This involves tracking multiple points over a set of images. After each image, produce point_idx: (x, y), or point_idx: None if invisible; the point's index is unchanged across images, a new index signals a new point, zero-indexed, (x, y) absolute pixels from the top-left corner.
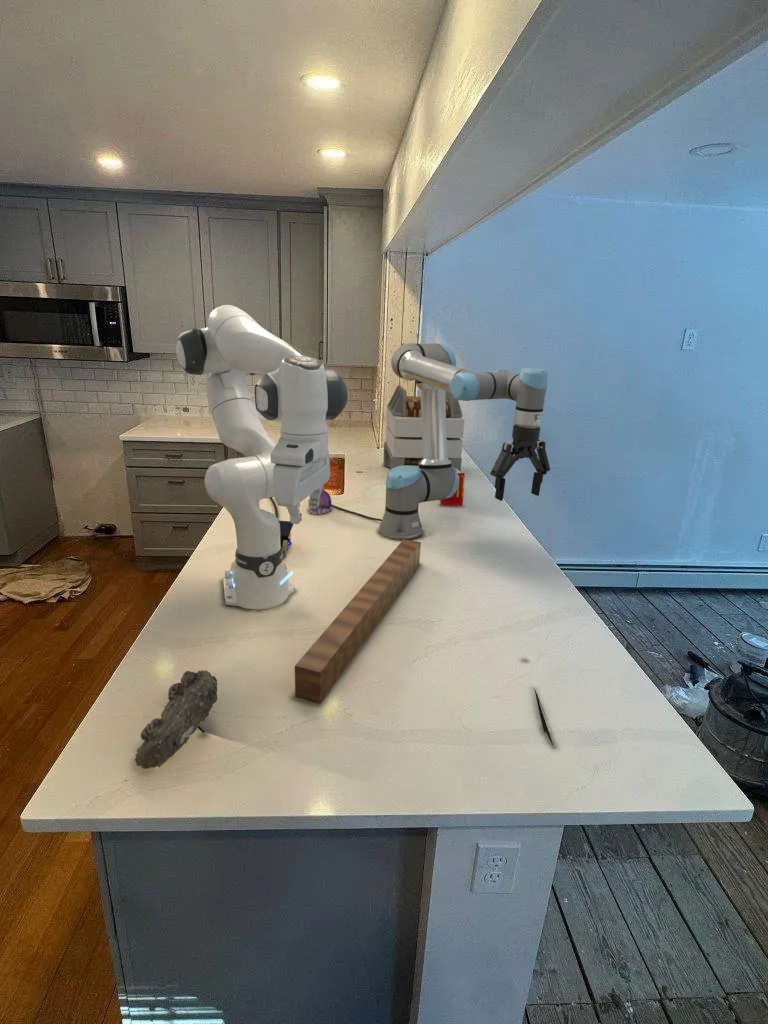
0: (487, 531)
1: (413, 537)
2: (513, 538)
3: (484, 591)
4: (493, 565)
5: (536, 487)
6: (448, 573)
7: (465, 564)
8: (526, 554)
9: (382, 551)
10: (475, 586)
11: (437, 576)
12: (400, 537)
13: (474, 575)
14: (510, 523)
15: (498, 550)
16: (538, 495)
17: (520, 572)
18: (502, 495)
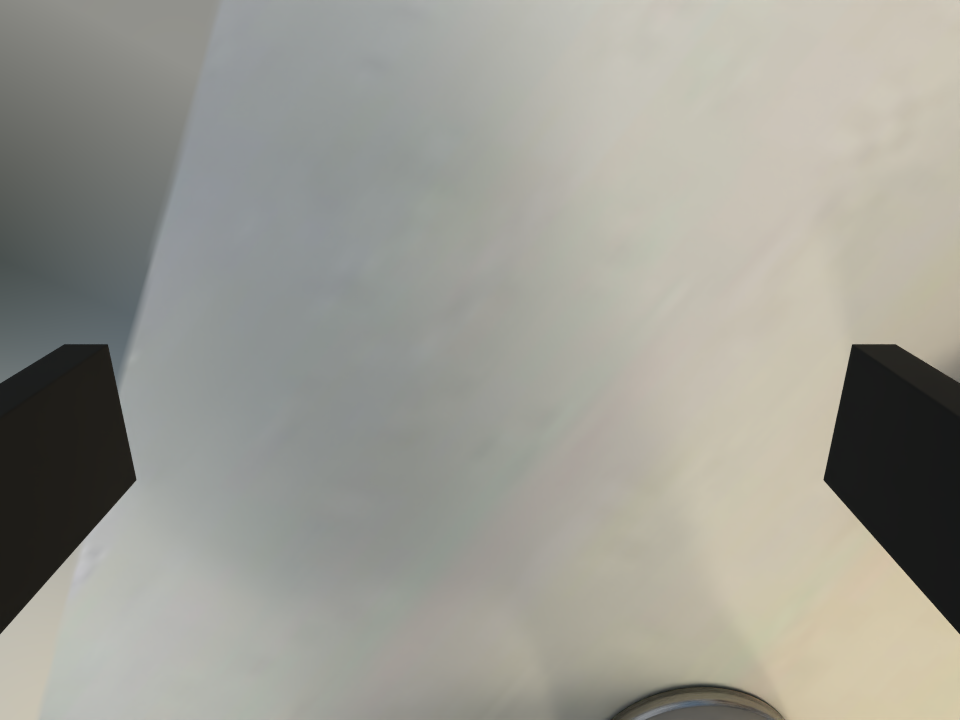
0: (257, 648)
1: (692, 694)
2: (165, 538)
3: (795, 29)
4: (504, 299)
5: (35, 450)
6: (808, 311)
7: (643, 368)
8: (218, 346)
9: (915, 629)
10: (794, 110)
11: (888, 303)
12: (760, 709)
13: (695, 234)
14: (69, 686)
15: (348, 445)
16: (76, 344)
17: (411, 158)
18: (931, 379)
